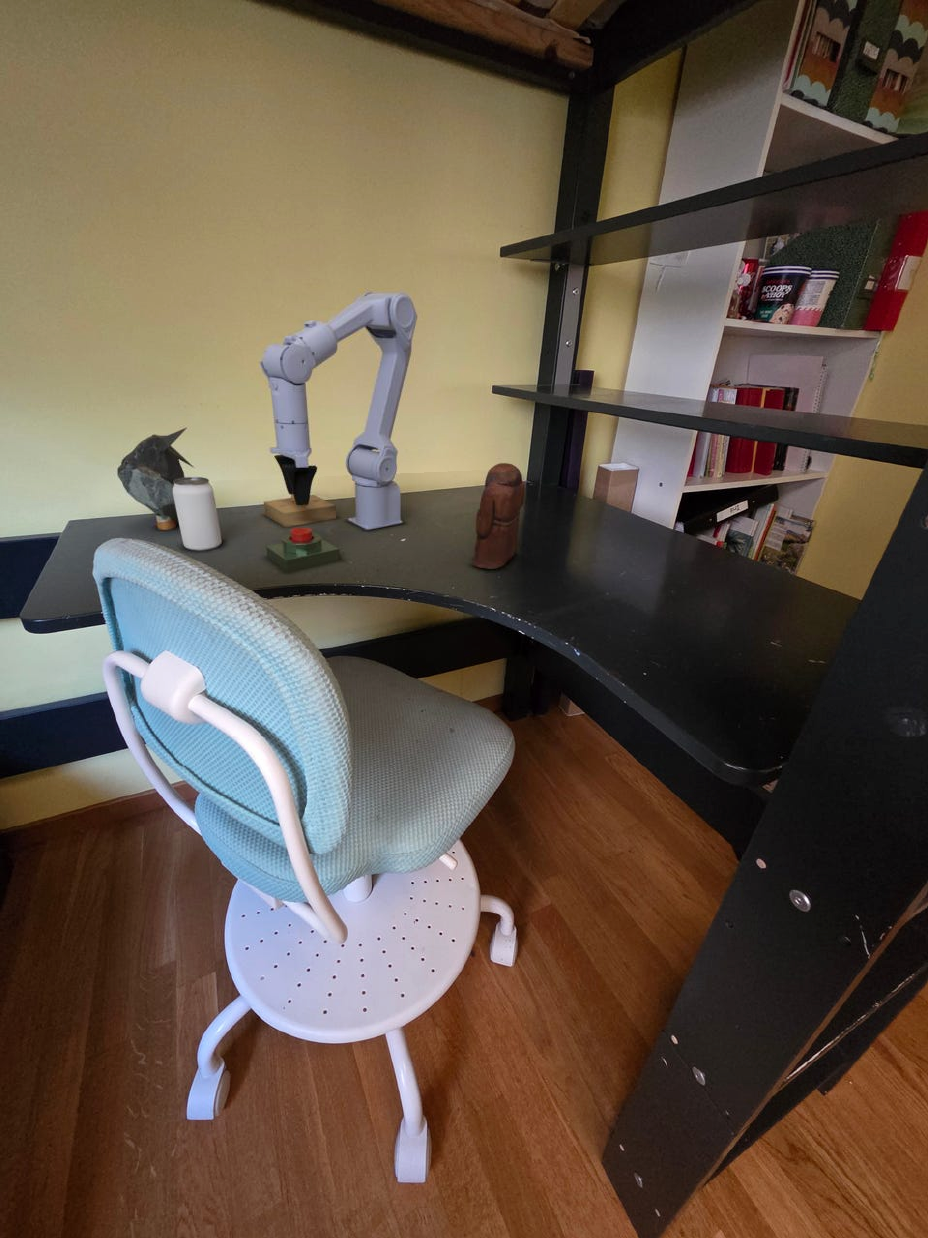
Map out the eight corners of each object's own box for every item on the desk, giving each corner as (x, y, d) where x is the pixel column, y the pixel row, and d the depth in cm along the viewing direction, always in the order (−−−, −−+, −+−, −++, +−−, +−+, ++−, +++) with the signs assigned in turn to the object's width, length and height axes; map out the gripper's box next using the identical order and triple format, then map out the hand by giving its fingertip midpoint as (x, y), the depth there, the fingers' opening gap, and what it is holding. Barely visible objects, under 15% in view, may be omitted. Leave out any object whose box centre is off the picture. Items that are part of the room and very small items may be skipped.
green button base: (318, 547, 98) (316, 526, 96) (339, 560, 93) (338, 539, 91) (267, 557, 92) (264, 536, 90) (287, 572, 87) (285, 550, 85)
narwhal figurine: (110, 527, 100) (84, 431, 92) (174, 508, 113) (156, 422, 105) (166, 540, 96) (144, 440, 88) (226, 519, 109) (212, 430, 101)
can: (207, 553, 92) (195, 486, 86) (175, 548, 93) (161, 482, 87) (229, 541, 98) (219, 478, 92) (199, 537, 99) (187, 474, 93)
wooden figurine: (490, 547, 104) (498, 456, 95) (519, 554, 101) (531, 461, 93) (466, 566, 94) (473, 467, 86) (498, 574, 92) (509, 472, 83)
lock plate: (314, 507, 121) (313, 493, 119) (336, 518, 114) (335, 504, 113) (265, 514, 113) (263, 500, 112) (285, 527, 107) (283, 512, 106)
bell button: (306, 535, 93) (305, 526, 92) (316, 541, 91) (315, 531, 90) (287, 538, 91) (286, 529, 90) (297, 544, 89) (296, 535, 88)
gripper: (261, 415, 93) (270, 490, 100) (273, 428, 82) (282, 511, 88) (301, 416, 96) (307, 488, 102) (318, 428, 85) (323, 508, 91)
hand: (298, 498), depth 96 cm, fingers open, 7 cm apart
